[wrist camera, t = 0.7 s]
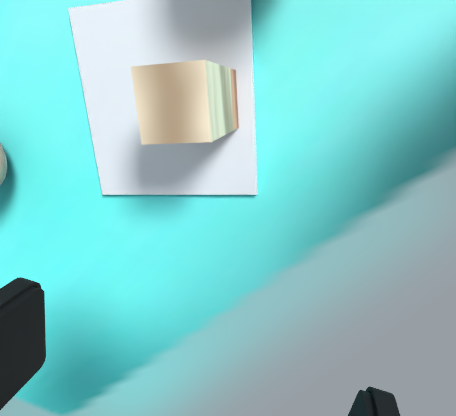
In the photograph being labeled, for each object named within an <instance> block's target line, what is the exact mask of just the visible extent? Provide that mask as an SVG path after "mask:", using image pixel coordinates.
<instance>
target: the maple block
mask: <svg viewBox="0 0 456 416" xmlns="http://www.w3.org/2000/svg"><path fill="white" fill-rule="evenodd" d="M131 72H132V80H133V87H134V94H135V101H136V108H137V115H138V123H139V130H140V137H141V144H142V145H146V144H175V143H203V142H213V141H215V140H217V139H218V138H220V137H222V136H224V135H226V134H228V133H230V132H232V131H234V130H235V129H237V128H239V123H238V103H237V83H236V70H234V69H231V68H228V67H225V66H222V65H219V64H216V63H213V62H210V61H207V60H198V61H187V62H176V63H165V64H154V65H143V66H132V67H131Z"/></svg>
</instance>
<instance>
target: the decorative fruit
mask: <svg viewBox="0 0 456 416" xmlns="http://www.w3.org/2000/svg"><path fill="white" fill-rule="evenodd" d="M6 174H7V159H6V155H5V152H4V149H3V147H2V145H1V143H0V185H1V184H2V182H3V181H4V179H5V177H6Z"/></svg>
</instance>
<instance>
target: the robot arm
mask: <svg viewBox="0 0 456 416" xmlns="http://www.w3.org/2000/svg"><path fill="white" fill-rule="evenodd" d="M45 358H46V345H45V306H44V291H43V290H42V289H41V285H40V284H39V283H37V282H34V281H31V280H28V279H25V278H17V279H15V280H13V281H12V282H10V283H8V284H7V285H5V286H4V287H2V288H1V289H0V410H1V409H2V408H3V407H4V406H5V404H7V402H8V401H9V400H10V399H11V398H12V397H13V396H14V395H15V394H16V393H17V392H18V391H19V390H20V389H21V388H22V387H23V386H24V385H25V384H26V383H27V382H28V381H29V380H30V379H31V378H32V377H33V375H34V374H35V373H36V372H37V371H38V370H39V369H40V368H41V367H42V365H43V363H44V361H45ZM348 416H400V414H399V410H398V407H397V403H396V400H395V397H394V395H393V394H392V393H388V392H386V391H382V390H379V389H376V388H373V387H368V388H367V389H366V391H362V390H360V391H359V392H358V394H357V396H356V399H355V401H354V403H353V405H352V408H351V410H350V412H349V414H348Z"/></svg>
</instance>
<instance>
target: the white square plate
mask: <svg viewBox="0 0 456 416" xmlns="http://www.w3.org/2000/svg"><path fill="white" fill-rule="evenodd" d="M68 10H69V15H70V21H71V26H72V32H73V37H74V43H75V48H76V54H77V59H78V64H79V70H80V75H81V81H82V86H83V92H84V97H85V103H86V108H87V113H88V119H89V124H90V130H91V135H92V141H93V146H94V152H95V157H96V162H97V168H98V173H99V179H100V184H101V190H102V195H257V194H258V182H257V153H256V125H255V96H254V67H253V38H252V10H251V0H124V1H117V2H110V3H102V4H95V5H88V6H81V7H74V8H68ZM198 60H207V61H210V62H213V63H216V64H219V65H222V66H225V67H228V68H231V69H234V70H236V83H237V103H238V123H239V128H237V129H235V130H234V131H232V132H230V133H228V134H226V135H224V136H222V137H220V138H218V139H217V140H215V141H213V142H203V143H175V144H146V145H142V144H141V137H140V130H139V123H138V115H137V108H136V101H135V94H134V87H133V80H132V72H131V67H132V66H143V65H154V64H165V63H176V62H187V61H198Z"/></svg>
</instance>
